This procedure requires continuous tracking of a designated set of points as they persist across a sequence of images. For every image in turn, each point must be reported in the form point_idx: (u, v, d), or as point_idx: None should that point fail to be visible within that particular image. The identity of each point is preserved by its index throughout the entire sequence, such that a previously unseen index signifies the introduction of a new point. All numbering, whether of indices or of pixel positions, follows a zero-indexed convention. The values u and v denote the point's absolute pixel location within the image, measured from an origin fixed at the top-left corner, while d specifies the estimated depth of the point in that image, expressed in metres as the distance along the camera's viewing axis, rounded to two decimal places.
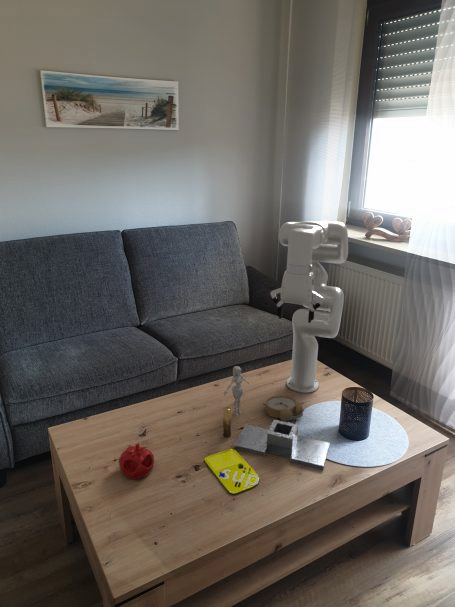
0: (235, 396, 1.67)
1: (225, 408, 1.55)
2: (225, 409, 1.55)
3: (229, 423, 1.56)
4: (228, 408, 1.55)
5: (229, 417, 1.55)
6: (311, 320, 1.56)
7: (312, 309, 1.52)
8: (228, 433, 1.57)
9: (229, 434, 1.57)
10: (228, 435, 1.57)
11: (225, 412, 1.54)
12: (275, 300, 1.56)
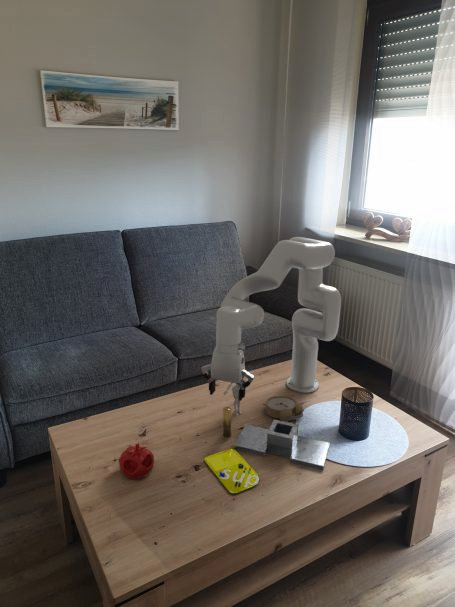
0: (235, 396, 1.67)
1: (225, 408, 1.55)
2: (225, 409, 1.55)
3: (229, 423, 1.56)
4: (228, 408, 1.55)
5: (229, 417, 1.55)
6: (242, 397, 1.52)
7: (242, 387, 1.49)
8: (228, 433, 1.57)
9: (229, 434, 1.57)
10: (228, 435, 1.57)
11: (225, 412, 1.54)
12: (206, 376, 1.52)
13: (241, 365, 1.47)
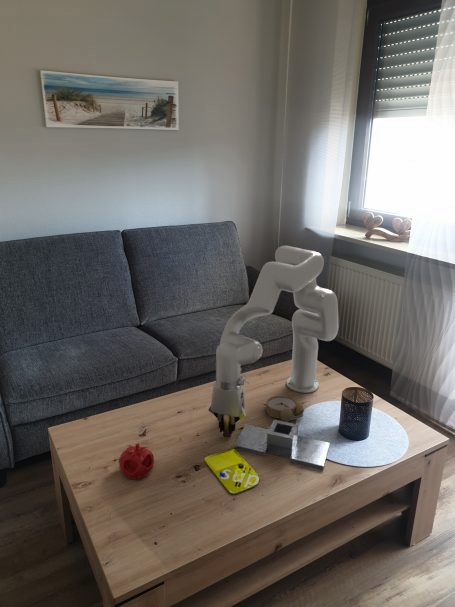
0: None
1: None
2: None
3: (229, 423, 1.56)
4: None
5: (229, 417, 1.55)
6: None
7: (232, 422, 1.54)
8: (228, 433, 1.57)
9: (229, 434, 1.57)
10: (228, 435, 1.57)
11: None
12: (216, 415, 1.56)
13: (240, 400, 1.51)
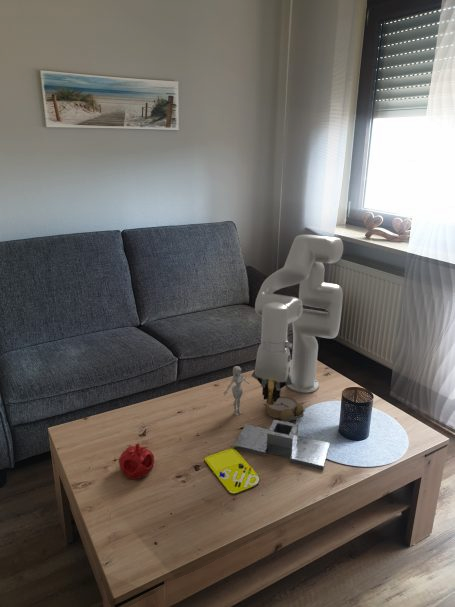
0: (235, 396, 1.67)
1: None
2: None
3: (274, 389, 1.46)
4: None
5: (274, 383, 1.45)
6: (277, 398, 1.48)
7: (277, 388, 1.45)
8: (272, 400, 1.47)
9: (273, 401, 1.47)
10: (272, 402, 1.47)
11: None
12: (260, 380, 1.47)
13: (287, 363, 1.41)
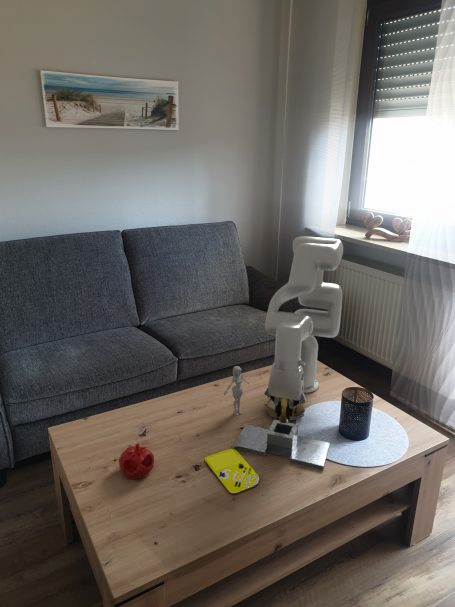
0: (235, 396, 1.67)
1: None
2: None
3: (287, 407, 1.46)
4: None
5: (287, 401, 1.45)
6: None
7: (291, 406, 1.45)
8: (285, 418, 1.47)
9: (286, 419, 1.48)
10: (285, 420, 1.47)
11: None
12: (273, 398, 1.47)
13: (301, 382, 1.41)
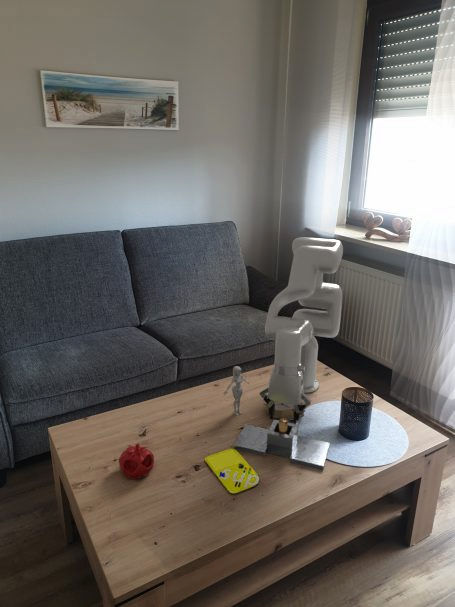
0: (235, 396, 1.67)
1: (281, 420, 1.49)
2: (281, 421, 1.49)
3: None
4: (284, 419, 1.49)
5: (285, 429, 1.49)
6: None
7: (297, 411, 1.45)
8: None
9: None
10: None
11: (281, 424, 1.48)
12: (266, 400, 1.48)
13: (301, 387, 1.42)
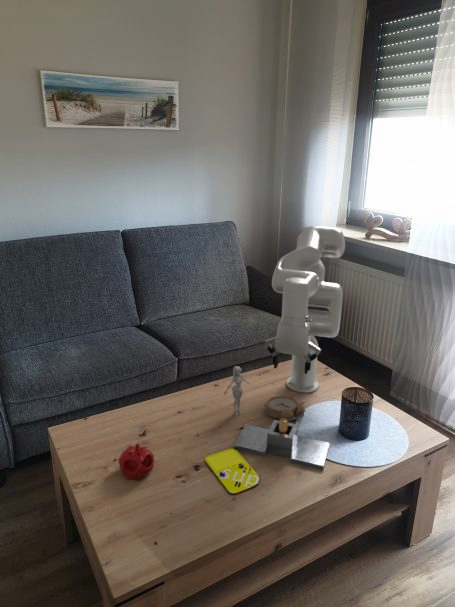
0: (235, 396, 1.67)
1: (281, 420, 1.49)
2: (281, 421, 1.49)
3: None
4: (284, 419, 1.49)
5: (285, 429, 1.49)
6: (308, 370, 1.49)
7: (308, 360, 1.46)
8: None
9: None
10: None
11: (281, 424, 1.48)
12: (270, 350, 1.49)
13: (308, 338, 1.43)
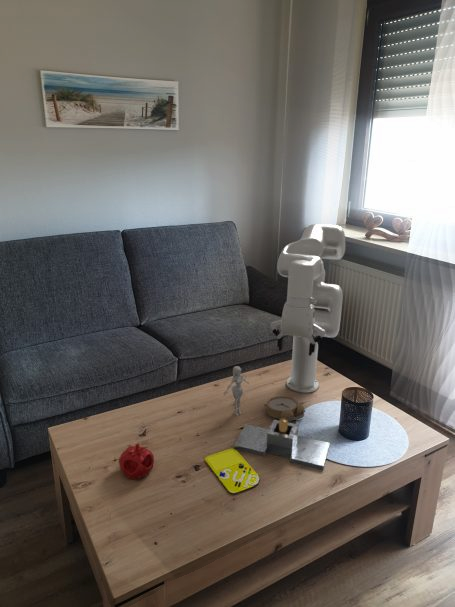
0: (235, 396, 1.67)
1: (281, 420, 1.49)
2: (281, 421, 1.49)
3: None
4: (284, 419, 1.49)
5: (285, 429, 1.49)
6: (312, 352, 1.52)
7: (313, 342, 1.49)
8: None
9: None
10: None
11: (281, 424, 1.48)
12: (275, 332, 1.53)
13: (313, 319, 1.47)
